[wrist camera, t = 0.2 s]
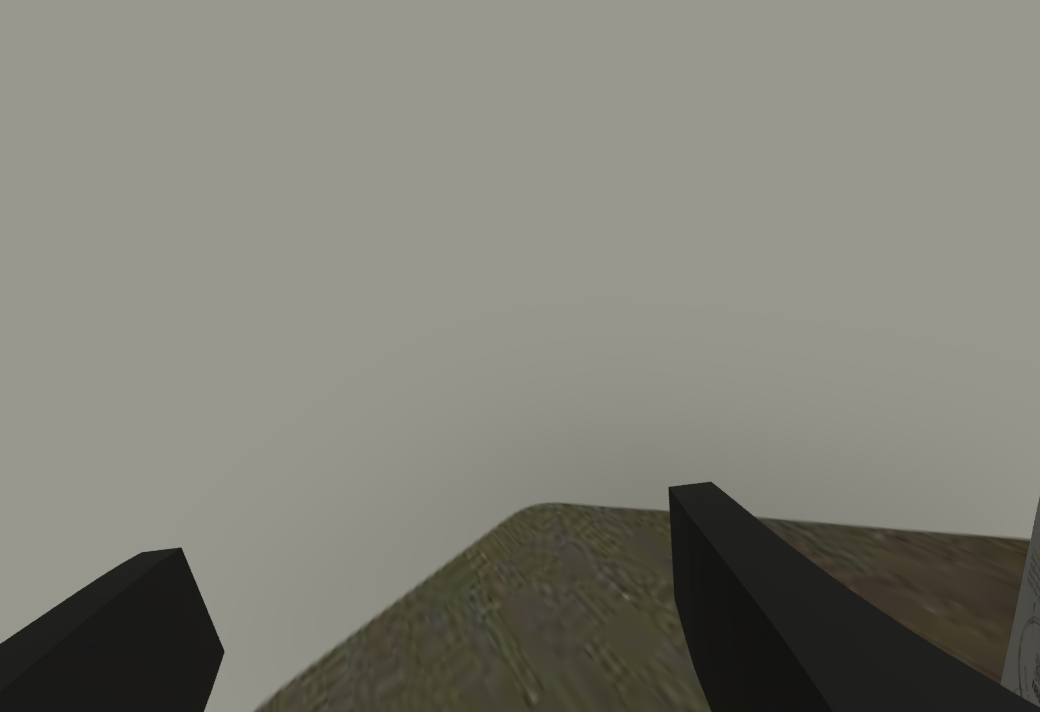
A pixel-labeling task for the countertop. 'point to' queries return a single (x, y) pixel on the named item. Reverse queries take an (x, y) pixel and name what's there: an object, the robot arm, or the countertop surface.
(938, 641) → the countertop surface
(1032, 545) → the coffee box
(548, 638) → the countertop surface
